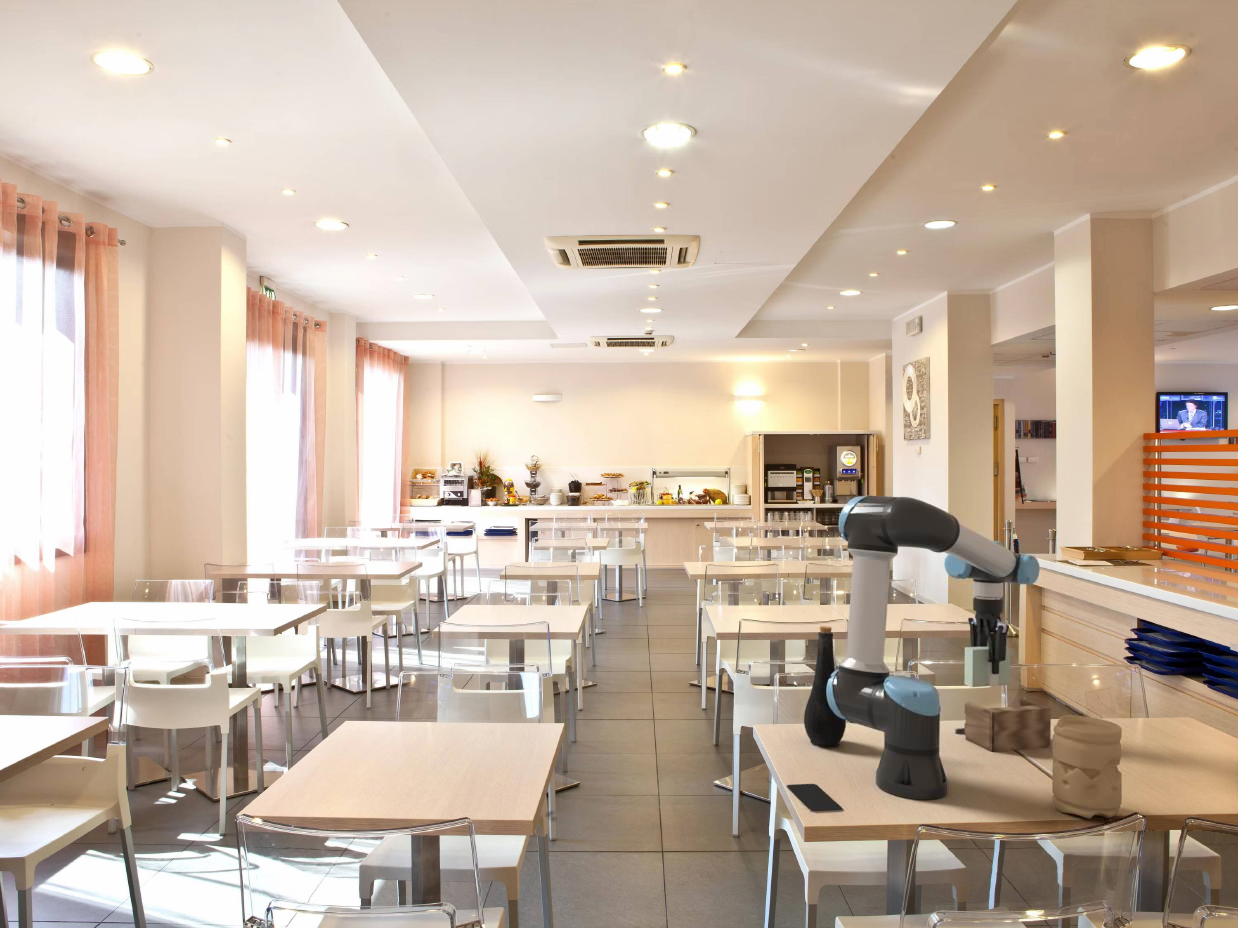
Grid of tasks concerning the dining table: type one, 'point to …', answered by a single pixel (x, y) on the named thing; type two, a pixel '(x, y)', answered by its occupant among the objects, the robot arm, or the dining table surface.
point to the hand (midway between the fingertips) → (987, 683)
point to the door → (984, 667)
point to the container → (1086, 766)
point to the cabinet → (1008, 726)
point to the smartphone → (814, 798)
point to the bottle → (823, 698)
